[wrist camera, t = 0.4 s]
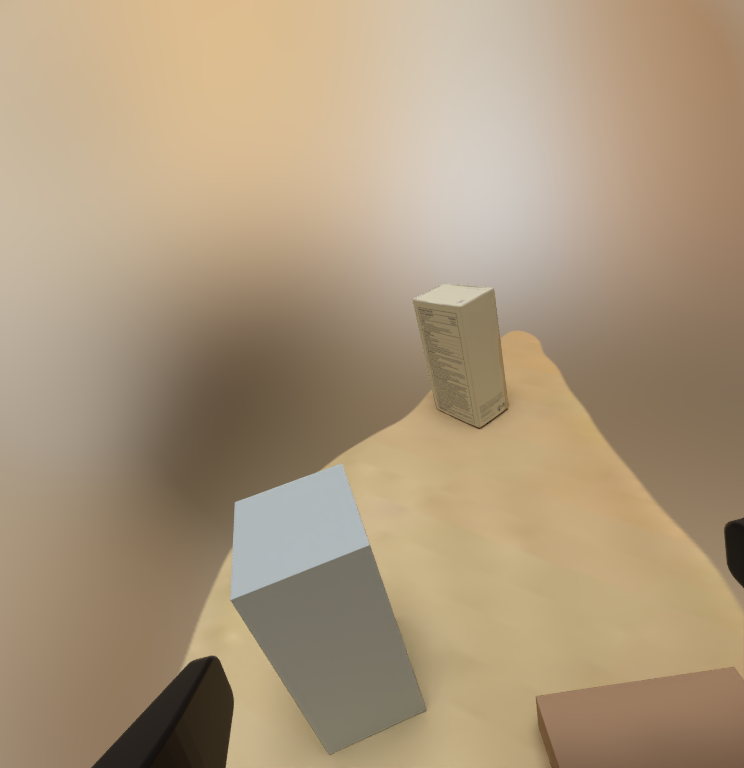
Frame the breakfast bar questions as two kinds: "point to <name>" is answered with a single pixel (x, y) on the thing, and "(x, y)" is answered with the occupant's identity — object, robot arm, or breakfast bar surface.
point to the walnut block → (648, 723)
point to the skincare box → (463, 351)
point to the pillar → (322, 608)
